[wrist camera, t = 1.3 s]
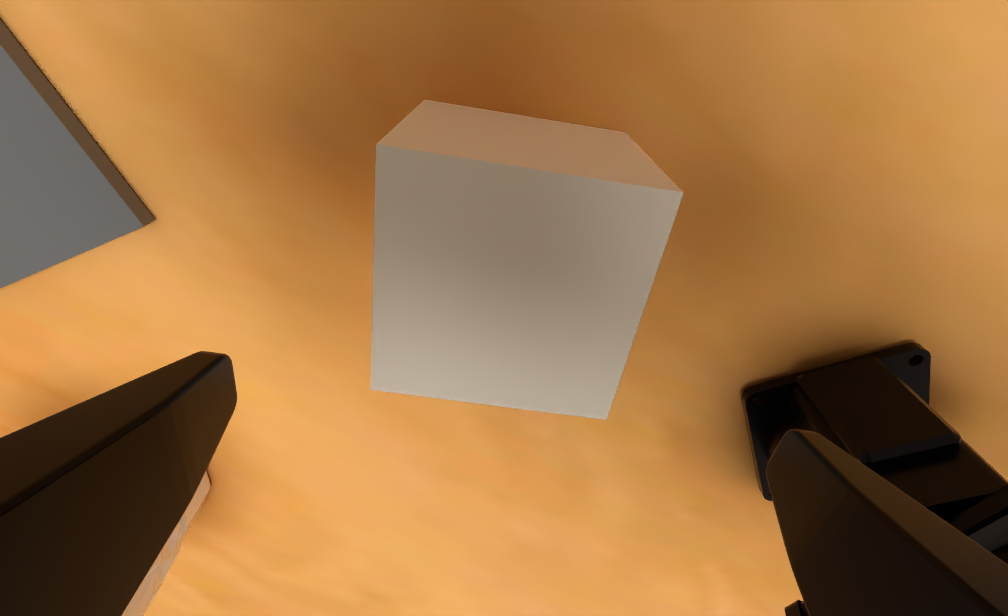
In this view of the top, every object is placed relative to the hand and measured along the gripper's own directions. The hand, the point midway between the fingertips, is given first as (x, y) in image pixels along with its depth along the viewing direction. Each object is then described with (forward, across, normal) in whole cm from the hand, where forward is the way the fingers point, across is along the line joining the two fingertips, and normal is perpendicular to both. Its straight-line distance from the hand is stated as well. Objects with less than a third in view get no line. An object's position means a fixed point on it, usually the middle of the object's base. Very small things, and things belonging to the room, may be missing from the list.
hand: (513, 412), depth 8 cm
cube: (+10, 0, 0) cm, 10 cm away
